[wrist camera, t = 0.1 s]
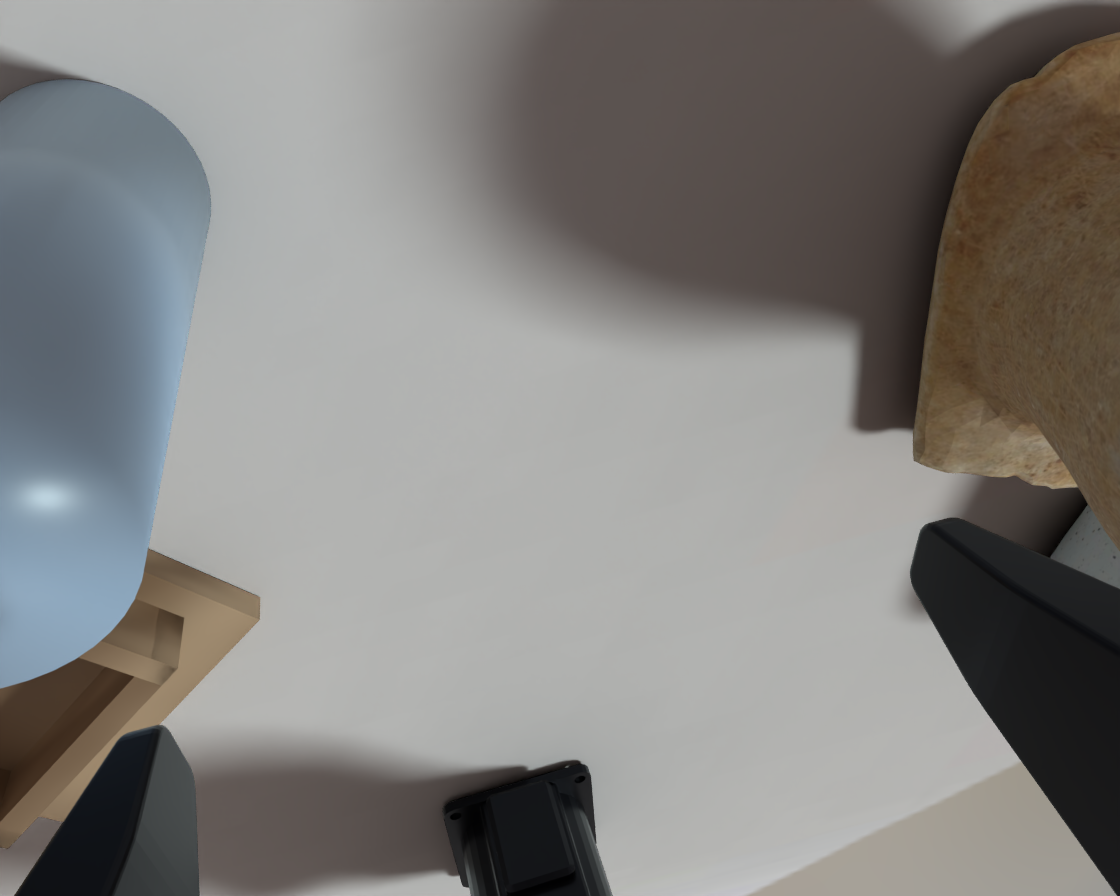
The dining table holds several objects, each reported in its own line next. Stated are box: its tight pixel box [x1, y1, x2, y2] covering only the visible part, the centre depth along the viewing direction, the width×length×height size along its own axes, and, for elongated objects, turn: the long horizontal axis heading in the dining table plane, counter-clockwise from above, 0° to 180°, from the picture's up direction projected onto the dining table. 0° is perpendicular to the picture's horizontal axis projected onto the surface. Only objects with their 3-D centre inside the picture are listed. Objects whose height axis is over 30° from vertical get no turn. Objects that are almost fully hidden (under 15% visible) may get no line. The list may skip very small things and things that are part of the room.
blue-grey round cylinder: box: [0, 79, 211, 688], centre depth 14 cm, size 5×5×12 cm
